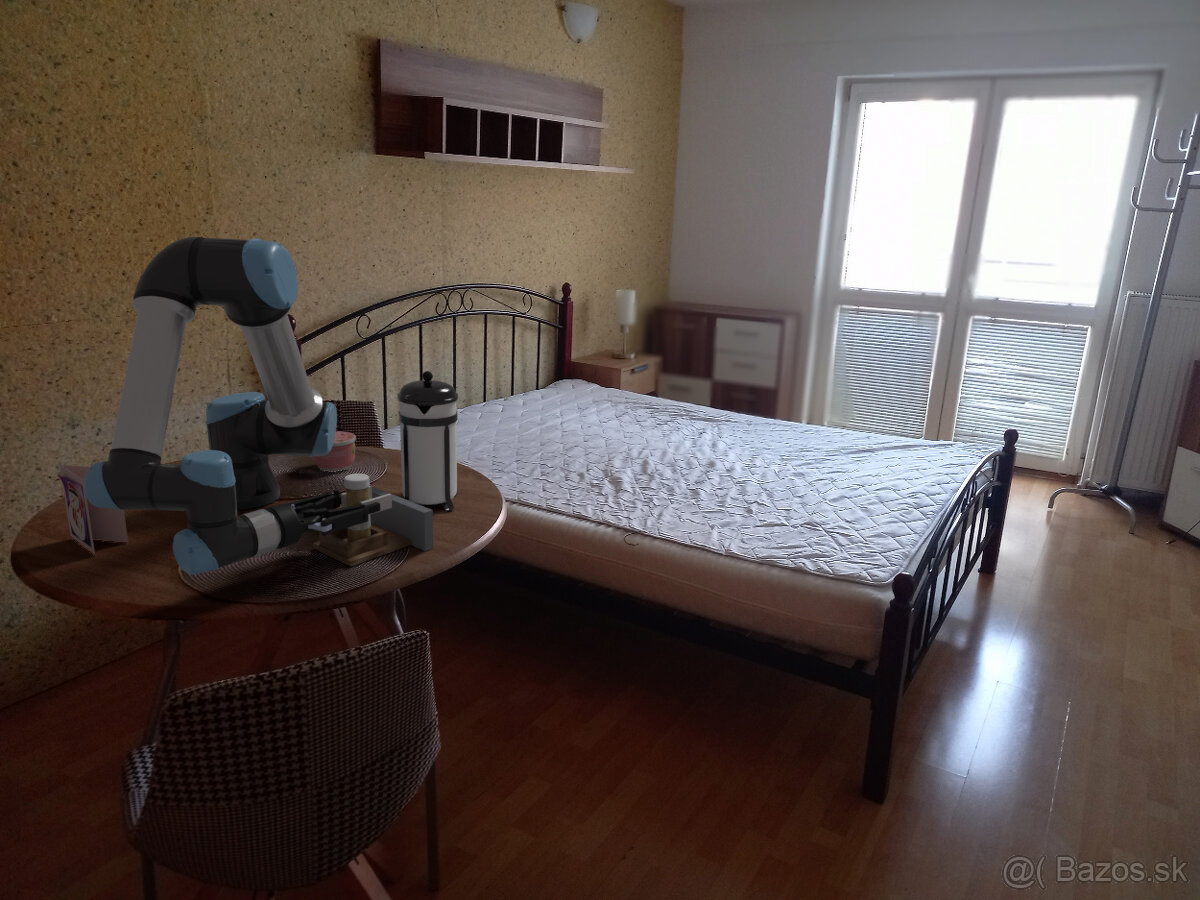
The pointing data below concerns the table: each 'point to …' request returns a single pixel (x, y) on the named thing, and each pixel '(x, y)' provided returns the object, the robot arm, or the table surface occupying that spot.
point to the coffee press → (428, 441)
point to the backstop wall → (406, 520)
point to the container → (338, 453)
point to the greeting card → (89, 511)
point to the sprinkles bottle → (357, 503)
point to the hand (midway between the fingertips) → (380, 496)
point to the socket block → (360, 545)
